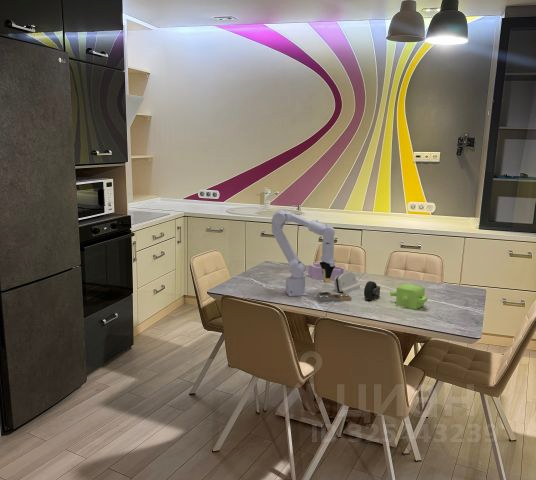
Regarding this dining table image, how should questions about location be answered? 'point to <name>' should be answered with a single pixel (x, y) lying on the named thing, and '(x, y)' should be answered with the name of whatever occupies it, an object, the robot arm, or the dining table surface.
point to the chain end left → (327, 298)
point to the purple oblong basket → (316, 273)
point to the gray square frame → (324, 293)
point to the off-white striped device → (346, 283)
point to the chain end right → (343, 297)
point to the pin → (325, 280)
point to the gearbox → (410, 296)
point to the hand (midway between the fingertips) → (326, 277)
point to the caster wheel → (371, 290)
